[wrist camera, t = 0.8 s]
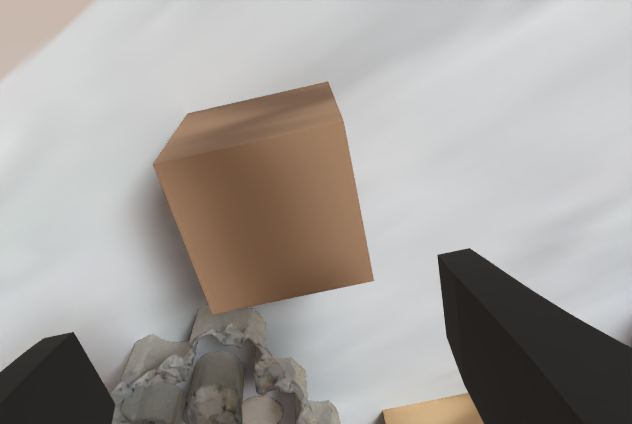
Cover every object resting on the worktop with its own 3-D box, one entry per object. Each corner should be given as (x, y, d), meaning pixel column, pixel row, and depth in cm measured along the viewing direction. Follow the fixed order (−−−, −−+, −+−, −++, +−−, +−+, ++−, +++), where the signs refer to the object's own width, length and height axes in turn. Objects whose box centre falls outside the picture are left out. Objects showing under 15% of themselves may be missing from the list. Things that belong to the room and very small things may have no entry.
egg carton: (355, 425, 25) (368, 504, 21) (230, 474, 26) (221, 558, 22) (251, 276, 20) (244, 344, 16) (104, 344, 21) (68, 422, 18)
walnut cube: (327, 80, 16) (343, 121, 12) (352, 207, 19) (373, 280, 14) (188, 112, 17) (153, 164, 12) (229, 233, 19) (212, 314, 14)
